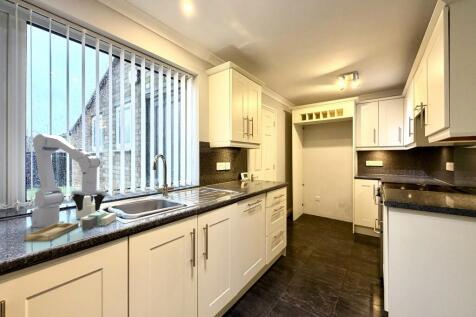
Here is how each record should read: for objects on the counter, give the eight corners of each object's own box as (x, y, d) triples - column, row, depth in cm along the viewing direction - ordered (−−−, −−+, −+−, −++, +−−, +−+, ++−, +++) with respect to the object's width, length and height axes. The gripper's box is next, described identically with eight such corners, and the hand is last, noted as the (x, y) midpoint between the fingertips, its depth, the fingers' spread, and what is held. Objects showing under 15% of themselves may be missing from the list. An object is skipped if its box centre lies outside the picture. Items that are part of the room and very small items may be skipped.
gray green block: (79, 229, 94) (80, 218, 94) (95, 221, 106) (95, 212, 106) (91, 229, 95) (91, 218, 95) (105, 221, 107) (105, 212, 107)
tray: (23, 240, 81) (24, 235, 81) (56, 227, 97) (56, 222, 97) (51, 240, 82) (51, 235, 82) (78, 227, 98) (78, 222, 98)
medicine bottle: (80, 215, 116) (81, 194, 116) (95, 214, 119) (96, 194, 119) (75, 219, 110) (76, 197, 110) (91, 218, 112) (92, 196, 112)
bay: (80, 225, 100) (80, 218, 100) (92, 219, 110) (93, 213, 110) (106, 225, 101) (106, 218, 101) (116, 219, 111) (116, 212, 111)
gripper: (66, 182, 92) (66, 212, 92) (100, 182, 93) (100, 212, 93) (77, 180, 99) (76, 208, 99) (108, 181, 100) (108, 208, 100)
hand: (88, 210), depth 97 cm, fingers open, 7 cm apart
